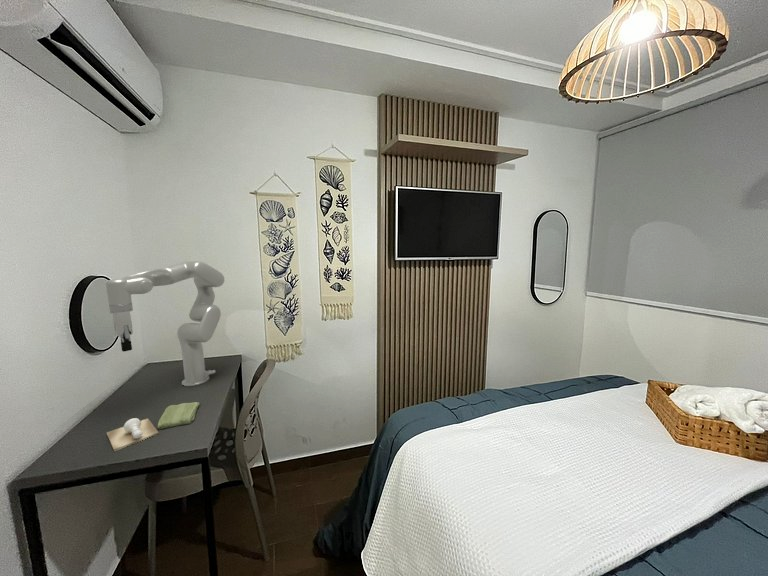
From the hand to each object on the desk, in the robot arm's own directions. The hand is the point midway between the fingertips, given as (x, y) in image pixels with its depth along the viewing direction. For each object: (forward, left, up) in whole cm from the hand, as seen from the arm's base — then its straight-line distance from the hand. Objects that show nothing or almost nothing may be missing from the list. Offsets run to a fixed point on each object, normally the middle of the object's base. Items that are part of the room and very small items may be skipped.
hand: (127, 350), depth 136 cm
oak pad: (+5, +23, -27) cm, 36 cm away
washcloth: (-11, +22, -28) cm, 37 cm away
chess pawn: (+5, +22, -24) cm, 32 cm away
